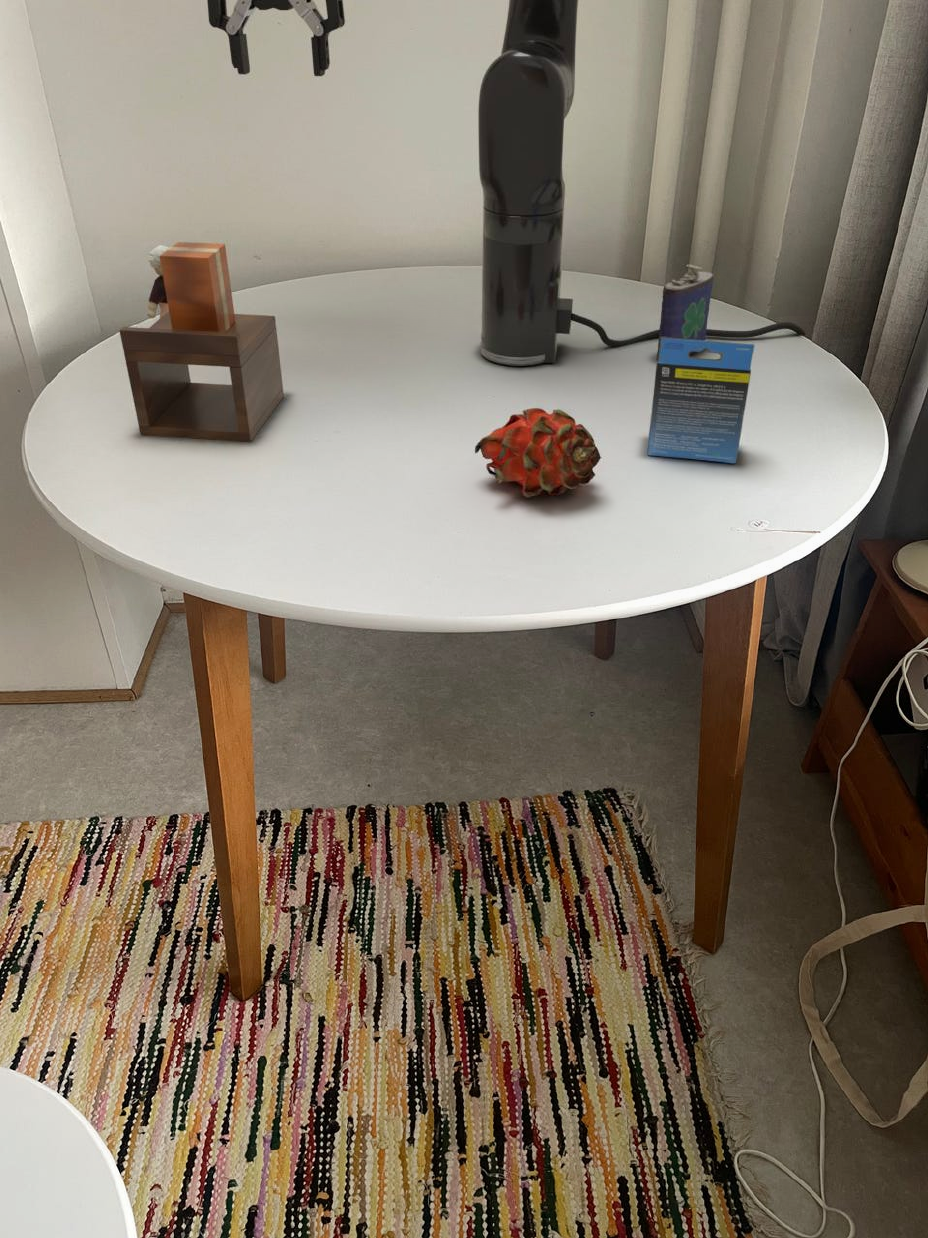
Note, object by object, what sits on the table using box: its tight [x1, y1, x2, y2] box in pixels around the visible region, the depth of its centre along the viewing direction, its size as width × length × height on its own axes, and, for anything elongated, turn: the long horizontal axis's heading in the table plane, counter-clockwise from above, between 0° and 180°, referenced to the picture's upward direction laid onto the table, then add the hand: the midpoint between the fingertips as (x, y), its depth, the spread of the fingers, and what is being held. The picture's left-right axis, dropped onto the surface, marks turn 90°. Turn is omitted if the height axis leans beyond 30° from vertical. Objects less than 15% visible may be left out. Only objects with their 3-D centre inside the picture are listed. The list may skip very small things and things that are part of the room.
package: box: [160, 241, 235, 332], centre depth 102 cm, size 5×5×8 cm
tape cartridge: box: [646, 337, 755, 464], centre depth 98 cm, size 9×4×12 cm, turn 77°
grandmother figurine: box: [146, 244, 170, 319], centre depth 121 cm, size 8×4×13 cm, turn 168°
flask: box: [655, 264, 715, 363], centre depth 121 cm, size 9×3×11 cm, turn 138°
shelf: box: [118, 311, 285, 443], centre depth 105 cm, size 12×12×11 cm
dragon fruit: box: [473, 407, 602, 499], centre depth 93 cm, size 8×8×12 cm
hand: (282, 74), depth 109 cm, fingers open, 8 cm apart
